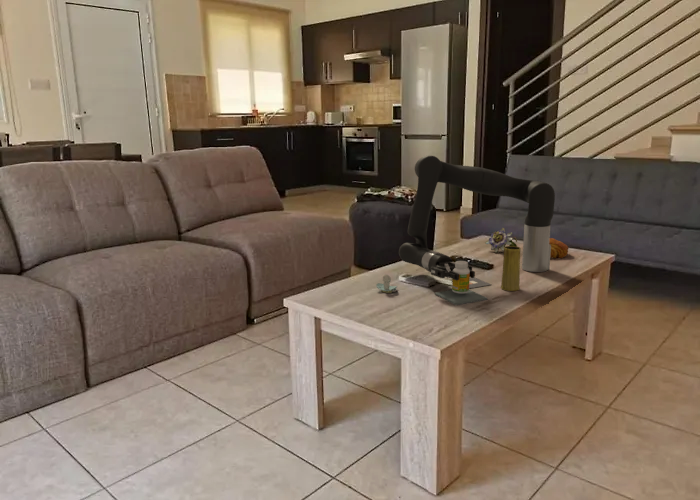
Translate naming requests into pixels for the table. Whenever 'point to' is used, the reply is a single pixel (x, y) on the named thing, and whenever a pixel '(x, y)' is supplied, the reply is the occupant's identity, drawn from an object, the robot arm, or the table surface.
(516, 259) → the vase
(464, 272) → the supplement bottle
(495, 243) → the passion flower
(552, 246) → the croissant
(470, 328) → the table surface
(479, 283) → the dark gray tile
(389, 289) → the pacifier
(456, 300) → the slate pad
